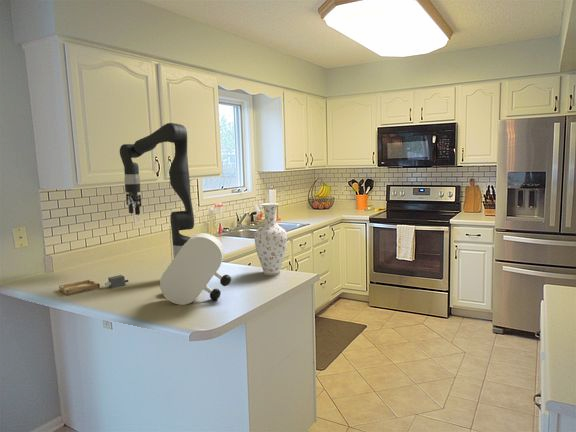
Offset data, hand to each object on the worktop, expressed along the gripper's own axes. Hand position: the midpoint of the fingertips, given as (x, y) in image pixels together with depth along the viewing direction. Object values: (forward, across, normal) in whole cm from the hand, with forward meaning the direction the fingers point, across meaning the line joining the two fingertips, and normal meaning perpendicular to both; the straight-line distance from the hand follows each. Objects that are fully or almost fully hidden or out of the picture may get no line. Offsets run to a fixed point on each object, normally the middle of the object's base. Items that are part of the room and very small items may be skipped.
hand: (134, 213), depth 233 cm
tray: (+30, -16, +34) cm, 48 cm away
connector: (+30, -23, +19) cm, 43 cm away
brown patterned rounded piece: (+30, -53, +6) cm, 61 cm away
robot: (+30, -69, +3) cm, 75 cm away
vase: (+30, -57, -46) cm, 79 cm away
